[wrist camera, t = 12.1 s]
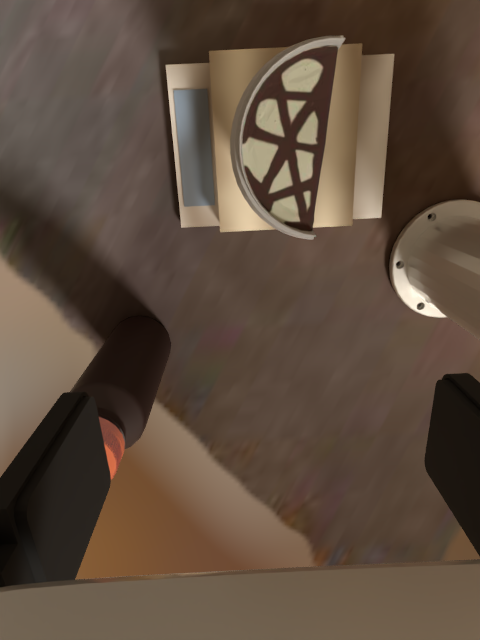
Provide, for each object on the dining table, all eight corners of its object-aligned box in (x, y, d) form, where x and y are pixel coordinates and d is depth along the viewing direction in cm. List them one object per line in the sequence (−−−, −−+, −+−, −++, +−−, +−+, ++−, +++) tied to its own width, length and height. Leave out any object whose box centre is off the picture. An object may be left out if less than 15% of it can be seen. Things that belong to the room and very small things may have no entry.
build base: (388, 57, 37) (413, 40, 31) (376, 215, 42) (396, 223, 37) (168, 68, 37) (157, 53, 31) (183, 225, 42) (176, 234, 37)
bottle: (99, 337, 46) (10, 455, 28) (144, 303, 45) (81, 404, 26) (140, 378, 48) (81, 514, 30) (183, 347, 47) (151, 469, 28)
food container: (236, 58, 32) (238, 15, 22) (313, 66, 32) (347, 26, 23) (225, 218, 36) (223, 237, 27) (293, 223, 36) (314, 244, 27)
